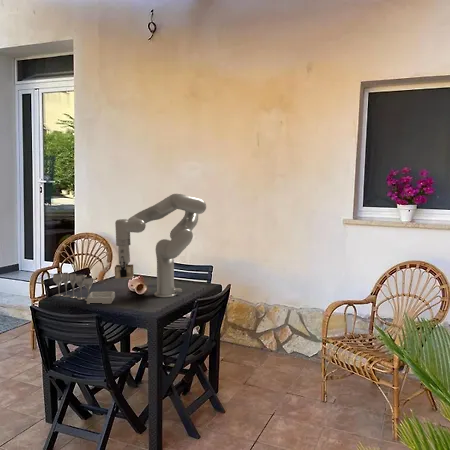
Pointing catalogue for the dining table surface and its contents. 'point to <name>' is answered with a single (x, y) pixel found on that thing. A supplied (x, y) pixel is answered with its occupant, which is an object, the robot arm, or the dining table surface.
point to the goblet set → (73, 282)
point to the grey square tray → (101, 297)
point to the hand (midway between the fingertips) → (124, 275)
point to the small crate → (128, 268)
